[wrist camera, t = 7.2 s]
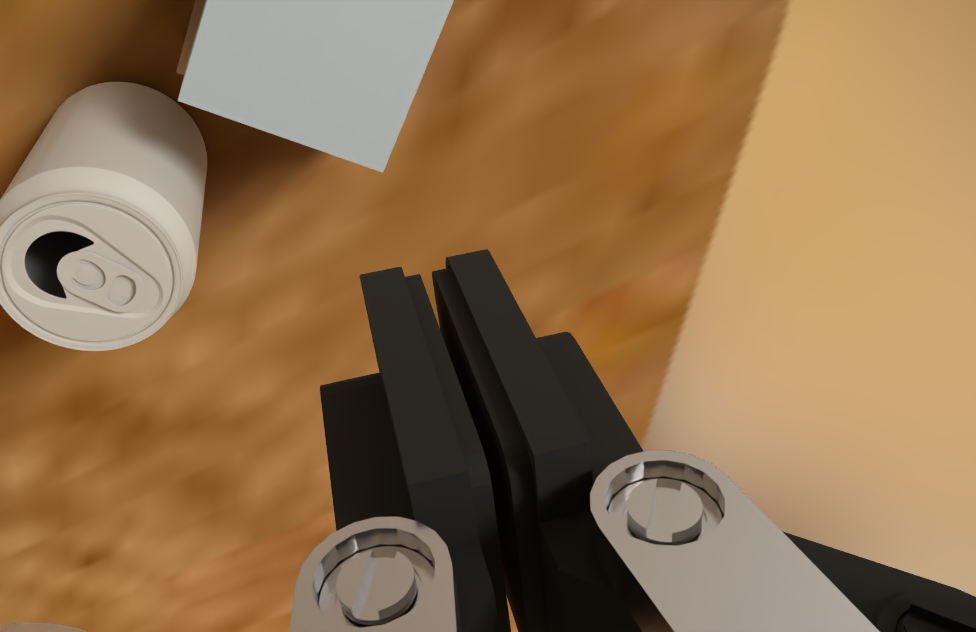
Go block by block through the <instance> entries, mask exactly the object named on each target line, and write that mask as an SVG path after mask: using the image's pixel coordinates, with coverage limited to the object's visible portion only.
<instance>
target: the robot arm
mask: <svg viewBox="0 0 976 632" xmlns="http://www.w3.org/2000/svg"><path fill="white" fill-rule="evenodd" d="M432 278H433V286H434V292H435V299H436V305H437V312H438V318H439V325H440V328H439V325H438V323H437V320H436V317H435V314H434V312H433V309H432V306H431V303H430V301H429V298H428V295H427V292H426V289H425V287H424V284H423V281H422V278H421V276H420V274H418V275H413V276H408V277H405V276H404V273H403V270H402V268H401V267H397V268H392V269H387V270H382V271H377V272H372V273H367V274H362V275H360V280H361V285H362V290H363V295H364V300H365V305H366V310H367V314H368V319H369V324H370V329H371V334H372V338H373V343H374V348H375V353H376V358H377V363H378V367H379V372H380V373H376V374H371V375H366V376H362V377H357V378H353V379H348V380H344V381H339V382H335V383H330V384H325V385H321V386H320V394H321V403H322V411H323V420H324V428H325V437H326V445H327V454H328V462H329V471H330V479H331V488H332V496H333V505H334V513H335V522H336V530H337V531H336V532H334V533H332V534H331V535H330V536H328V537H327V538H326V539H325V540H324V541H322V542H321V543H320V544H319V545H317V546H316V547H315V548H314V549H313V551H312V552H311V554H310V555H309V556H308V558H307V559H306V561H305V562H304V563H303V565H302V567H301V570H300V573H299V576H298V579H297V582H296V585H295V593H294V600H293V608H292V615H291V623H290V631H289V632H511V628H510V620H509V612H508V605H507V598H508V601H509V604H510V607H511V610H512V613H513V616H514V619H515V623H516V626H517V629H518V632H976V597H974V596H972V595H970V594H968V593H965V592H963V591H961V590H958V589H956V588H953V587H950V586H947V585H944V584H941V583H938V582H935V581H932V580H929V579H926V578H922V577H920V576H916V575H913V574H910V573H907V572H904V571H901V570H898V569H895V568H892V567H888V566H885V565H883V564H880V563H876V562H874V561H871V560H867V559H865V558H862V557H858V556H855V555H852V554H849V553H846V552H843V551H840V550H837V549H834V548H831V547H828V546H825V545H822V544H819V543H816V542H812V541H810V540H807V539H804V538H800V537H797V536H794V535H791V534H788V533H785V532H782V531H781V530H780V529H779V528H778V527H777V526H776V525H775V524H774V523H773V522H772V521H771V520H770V519H769V518H768V517H767V516H766V515H765V513H764V512H763V511H761V509H760V508H759V507H758V506H757V505H756V504H755V503H754V502H753V501H752V500H751V499H750V498H749V497H748V496H747V495H746V494H745V493H744V492H743V491H742V490H741V489H740V488H739V487H738V486H737V485H736V484H735V483H734V482H733V481H732V480H731V479H730V478H729V477H728V476H727V475H726V474H725V473H723V472H722V471H721V470H720V469H718V468H717V467H716V466H714V465H713V464H712V463H710V462H707V461H705V460H703V459H700V458H698V457H696V456H694V455H691V454H686V453H681V452H675V451H670V450H659V451H658V450H657V451H643V450H642V448H641V446H640V445H639V443H638V442H637V440H636V438H635V437H634V435H633V433H632V432H631V430H630V428H629V427H628V425H627V424H626V422H625V420H624V419H623V417H622V415H621V414H620V412H619V410H618V409H617V407H616V405H615V404H614V402H613V401H612V399H611V397H610V396H609V394H608V392H607V391H606V389H605V387H604V386H603V384H602V383H601V381H600V379H599V378H598V376H597V374H596V373H595V371H594V369H593V368H592V366H591V364H590V363H589V361H588V360H587V358H586V356H585V355H584V353H583V351H582V350H581V348H580V346H579V345H578V343H577V341H576V340H575V338H574V337H573V336H572V335H571V333H569V332H562V333H558V334H553V335H549V336H544V337H540V338H535V336H534V334H533V332H532V330H531V328H530V326H529V325H528V323H527V321H526V319H525V317H524V315H523V313H522V311H521V310H520V308H519V306H518V304H517V302H516V300H515V298H514V297H513V295H512V293H511V291H510V289H509V287H508V285H507V284H506V282H505V280H504V278H503V276H502V274H501V272H500V270H499V269H498V267H497V265H496V263H495V261H494V259H493V257H492V256H491V254H490V252H489V251H488V249H486V250H481V251H476V252H471V253H466V254H461V255H456V256H451V257H446V269H442V270H437V271H432ZM506 595H507V597H506ZM0 632H87V631H85V630H81V629H77V628H73V627H69V626H65V625H58V624H49V623H13V624H4V625H0Z"/></svg>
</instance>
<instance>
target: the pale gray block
mask: <svg viewBox="0 0 976 632" xmlns="http://www.w3.org/2000/svg"><path fill="white" fill-rule="evenodd" d="M453 1H454V0H206V1H205V5H204V8H203V11H202V15H201V18H200V21H199V25H198V28H197V32H196V35H195V38H194V42H193V45H192V49H191V52H190V55H189V59H188V62H187V66H186V70H185V74H184V78H183V82H182V85H181V89H180V93H179V97H178V101H179V102H182V103H185V104H188V105H191V106H194V107H197V108H199V109H202V110H205V111H208V112H211V113H214V114H217V115H219V116H222V117H225V118H228V119H231V120H234V121H237V122H239V123H242V124H245V125H248V126H251V127H254V128H257V129H260V130H262V131H265V132H268V133H271V134H274V135H277V136H280V137H282V138H285V139H288V140H291V141H294V142H297V143H300V144H302V145H305V146H308V147H311V148H314V149H317V150H320V151H323V152H325V153H328V154H331V155H334V156H337V157H340V158H343V159H345V160H348V161H351V162H354V163H357V164H360V165H363V166H365V167H368V168H371V169H374V170H377V171H380V172H383V171H384V169H385V166H386V164H387V162H388V159H389V157H390V154H391V152H392V149H393V147H394V145H395V142H396V140H397V137H398V135H399V132H400V130H401V127H402V125H403V123H404V120H405V118H406V115H407V113H408V110H409V108H410V106H411V103H412V101H413V98H414V96H415V93H416V91H417V89H418V86H419V84H420V81H421V79H422V76H423V74H424V72H425V69H426V67H427V64H428V62H429V59H430V57H431V55H432V52H433V50H434V47H435V45H436V42H437V40H438V38H439V35H440V33H441V30H442V28H443V25H444V23H445V20H446V18H447V16H448V13H449V11H450V8H451V6H452V3H453Z"/></svg>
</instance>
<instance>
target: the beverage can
mask: <svg viewBox="0 0 976 632" xmlns="http://www.w3.org/2000/svg"><path fill="white" fill-rule="evenodd" d="M206 174H207V153H206V147H205V143H204V140H203V137H202V135H201V133H200V131H199V129H198V127H197V125H196V124H195V122H194V121H193V119H192V118H191V117H190V115H189V114H188V113H187V112H186V111H185V110H184V109H183V108H182V107H181V106H180V105H179V104H177V103H176V102H175V101H174V100H172V99H171V98H169V97H168V96H166V95H164V94H163V93H161V92H159V91H157V90H154V89H152V88H150V87H147V86H143V85H139V84H135V83H129V82H105V83H99V84H95V85H92V86H89V87H86V88H84V89H82V90H81V91H79V92H77V93H75V94H74V95H72V96H70V97H69V98H68V99H66V100H65V101H64V102H63V103H62V104H61V105H60V107H59V108H58V109H57V110H56V112H55V113H54V115H53V116H52V118H51V120H50V121H49V123H48V124H47V126H46V128H45V129H44V131H43V132H42V134H41V136H40V137H39V139H38V140H37V142H36V144H35V145H34V147H33V148H32V150H31V151H30V153H29V155H28V156H27V158H26V159H25V161H24V163H23V164H22V166H21V167H20V169H19V171H18V172H17V174H16V175H15V177H14V179H13V180H12V182H11V183H10V185H9V186H8V188H7V190H6V191H5V193H4V194H3V196H2V198H1V199H0V304H1V306H2V307H3V309H4V310H5V311H6V312H7V313H8V314H9V316H10V317H11V318H12V319H13V320H14V321H15V322H17V323H18V324H19V325H20V326H21V327H23V328H24V329H25V330H27V331H28V332H30V333H32V334H33V335H35V336H37V337H38V338H40V339H43V340H45V341H47V342H50V343H52V344H55V345H58V346H62V347H66V348H70V349H76V350H83V351H106V350H113V349H119V348H123V347H126V346H130V345H133V344H135V343H137V342H140V341H142V340H144V339H146V338H147V337H149V336H150V335H152V334H153V333H155V332H156V331H157V330H159V329H160V328H161V327H162V326H163V325H164V324H165V323H166V322H167V321H168V319H169V318H170V317H171V316H173V315H174V314H175V313H176V312H177V311H178V310H179V308H180V307H181V306H182V304H183V303H184V302H185V300H186V299H187V297H188V295H189V293H190V291H191V288H192V286H193V283H194V279H195V274H196V267H197V257H198V248H199V239H200V230H201V220H202V211H203V202H204V192H205V183H206Z"/></svg>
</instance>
